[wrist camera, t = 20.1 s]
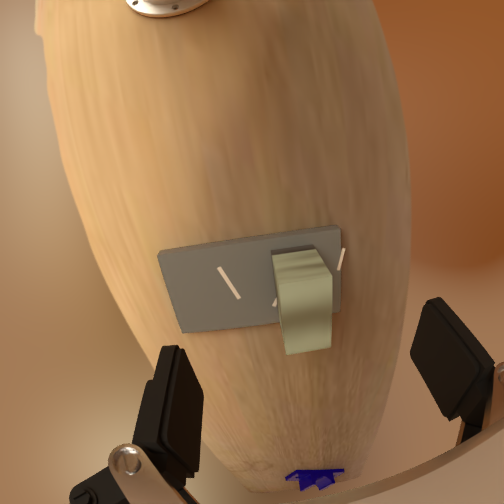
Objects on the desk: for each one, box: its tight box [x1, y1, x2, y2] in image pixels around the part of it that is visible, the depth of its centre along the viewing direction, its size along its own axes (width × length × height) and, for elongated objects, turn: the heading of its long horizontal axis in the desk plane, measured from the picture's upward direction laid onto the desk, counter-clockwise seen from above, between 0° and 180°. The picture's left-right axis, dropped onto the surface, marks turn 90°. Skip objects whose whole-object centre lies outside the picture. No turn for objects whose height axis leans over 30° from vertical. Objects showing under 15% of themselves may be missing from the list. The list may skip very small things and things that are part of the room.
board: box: [157, 225, 345, 333], centre depth 35 cm, size 12×23×2 cm, turn 98°
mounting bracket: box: [285, 469, 344, 491], centre depth 62 cm, size 18×7×6 cm, turn 68°
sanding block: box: [271, 244, 332, 355], centre depth 30 cm, size 9×5×8 cm, turn 8°
